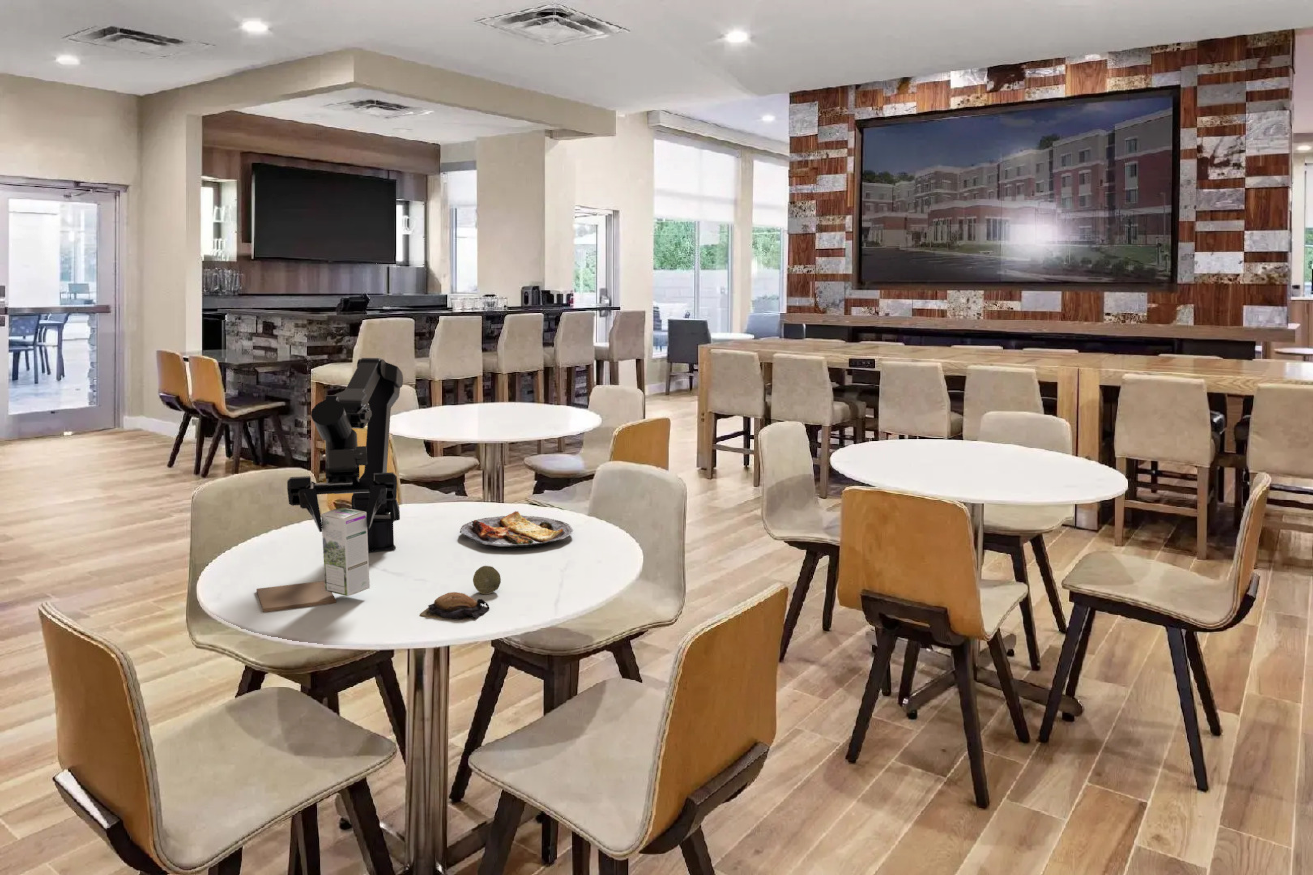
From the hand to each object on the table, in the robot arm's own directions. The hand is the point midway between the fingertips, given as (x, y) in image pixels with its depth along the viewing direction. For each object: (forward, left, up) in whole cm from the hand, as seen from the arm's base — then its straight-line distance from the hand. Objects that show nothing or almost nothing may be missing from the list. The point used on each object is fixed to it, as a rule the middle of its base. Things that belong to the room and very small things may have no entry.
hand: (344, 529), depth 173 cm
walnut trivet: (+8, -6, -13) cm, 16 cm away
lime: (-24, +5, -13) cm, 28 cm away
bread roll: (-16, +13, -14) cm, 25 cm away
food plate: (-42, -30, -14) cm, 53 cm away
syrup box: (0, -1, -12) cm, 12 cm away
